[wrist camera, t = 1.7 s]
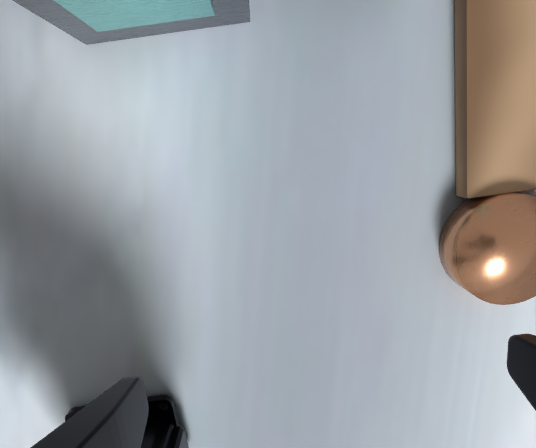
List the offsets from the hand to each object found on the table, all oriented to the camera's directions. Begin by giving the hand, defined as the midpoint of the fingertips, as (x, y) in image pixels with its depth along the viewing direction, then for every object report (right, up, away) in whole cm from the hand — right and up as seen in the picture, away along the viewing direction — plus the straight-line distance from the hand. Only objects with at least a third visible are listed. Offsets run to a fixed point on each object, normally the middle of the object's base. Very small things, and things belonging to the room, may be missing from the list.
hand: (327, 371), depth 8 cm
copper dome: (+11, +3, +11) cm, 16 cm away
